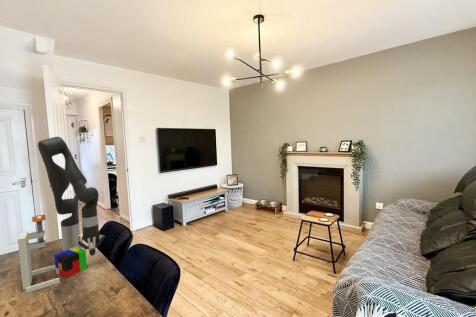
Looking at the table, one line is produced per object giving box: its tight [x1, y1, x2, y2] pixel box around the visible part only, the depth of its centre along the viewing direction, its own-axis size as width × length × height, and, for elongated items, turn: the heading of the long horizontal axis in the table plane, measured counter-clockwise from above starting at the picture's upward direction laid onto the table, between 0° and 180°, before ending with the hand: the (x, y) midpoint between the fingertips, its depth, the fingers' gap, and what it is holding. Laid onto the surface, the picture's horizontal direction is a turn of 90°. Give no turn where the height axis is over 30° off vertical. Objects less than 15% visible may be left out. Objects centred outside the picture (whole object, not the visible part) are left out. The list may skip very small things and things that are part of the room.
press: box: [17, 229, 61, 294], centre depth 113 cm, size 14×18×24 cm
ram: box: [31, 214, 47, 250], centre depth 113 cm, size 5×5×16 cm
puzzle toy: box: [53, 247, 88, 279], centre depth 121 cm, size 10×10×10 cm
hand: (92, 255), depth 126 cm, fingers closed
